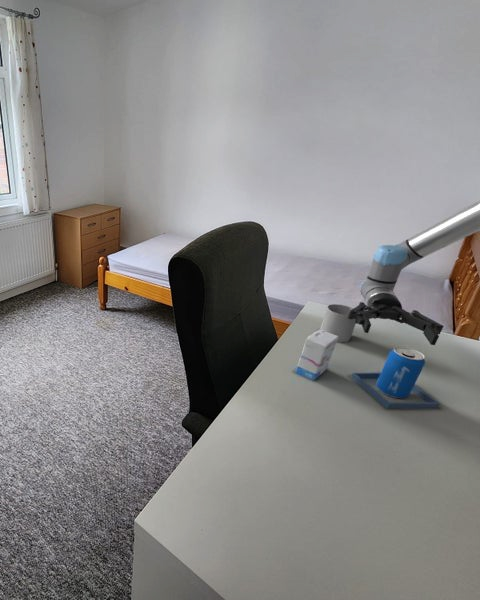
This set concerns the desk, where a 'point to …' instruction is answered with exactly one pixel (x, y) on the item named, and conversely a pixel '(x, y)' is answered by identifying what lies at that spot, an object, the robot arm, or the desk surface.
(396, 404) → the rectangular frame
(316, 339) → the ink box
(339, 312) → the cup
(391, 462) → the desk surface
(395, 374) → the beverage can
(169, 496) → the desk surface
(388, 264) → the robot arm
